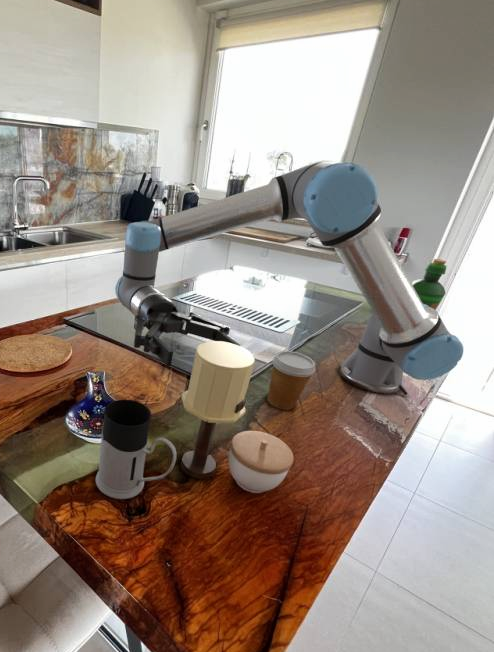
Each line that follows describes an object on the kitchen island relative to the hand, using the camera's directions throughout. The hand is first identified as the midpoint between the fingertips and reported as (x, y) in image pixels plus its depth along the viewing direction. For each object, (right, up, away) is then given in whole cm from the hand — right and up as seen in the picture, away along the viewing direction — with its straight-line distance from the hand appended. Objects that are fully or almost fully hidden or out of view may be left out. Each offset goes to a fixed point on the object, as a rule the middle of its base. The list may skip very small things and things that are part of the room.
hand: (204, 355), depth 72 cm
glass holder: (-13, -24, 0) cm, 27 cm away
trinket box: (+10, -23, +5) cm, 26 cm away
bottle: (+81, +10, +69) cm, 107 cm away
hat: (+1, -9, -1) cm, 9 cm away
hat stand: (0, -21, +6) cm, 22 cm away
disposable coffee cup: (+25, -9, +29) cm, 39 cm away
